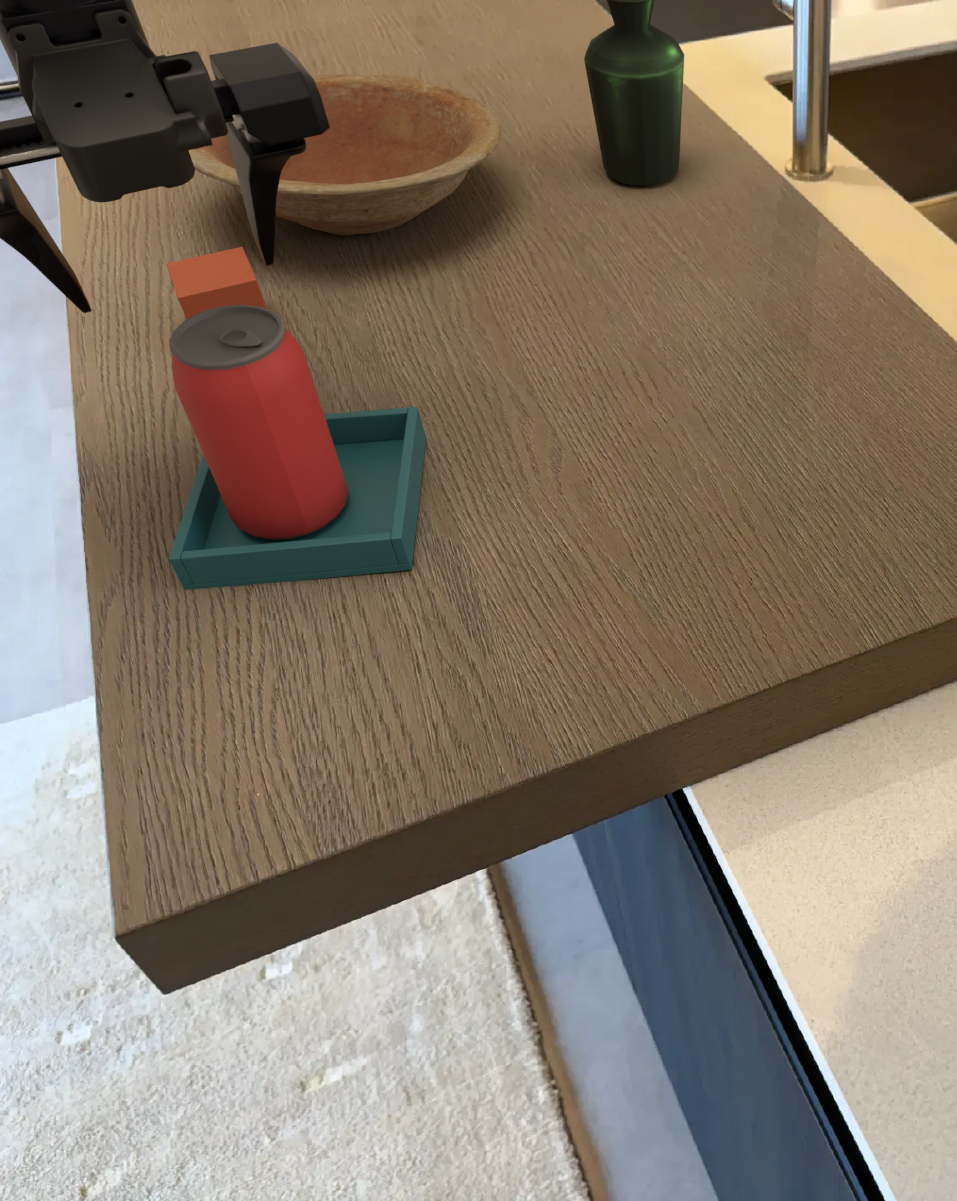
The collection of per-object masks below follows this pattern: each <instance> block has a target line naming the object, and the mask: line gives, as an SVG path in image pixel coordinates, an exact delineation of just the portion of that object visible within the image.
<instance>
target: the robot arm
mask: <svg viewBox="0 0 957 1201" xmlns="http://www.w3.org/2000/svg"><path fill="white" fill-rule="evenodd" d="M138 15H139V14H138V12H137V10H136V8H135V5H134V1H133V0H0V42H1V45H2V48H3V49H4V51H5V53H6V55H7V58H8V60H9V62H10V64H11V66H12V69H13V70H14V73H15V75H16V77H17V84H18V88H19V91H20V93H21V95H22V98H23V100H24V101H25V103H26V106H27V108H28V111H29V112H30V114H31V115H25V116H22V117H17V118H11V119H7V120H1V121H0V240H2V241H3V242H4V243H5V244H7V245H8V246H9V247H10V248H12V249H13V250H15V251H16V252H18V253H19V254H20V255H21V256H22V257H23V258H25V259H26V260H27V261H28V262H29V263H30V264H31V265H32V266H34V267H35V268H36V269H37V271H39V272H40V273H41V275H43V276H44V277H45V278H46V279H47V280H48V281H49V282H50V283H51V284H53V286H54V287H56V289H57V290H59V292H61V293H62V294H63V295H64V296H65V297H66V298H67V300H69V301H70V302H71V303H72V304H73V305H74V306H75V307H76V308H77V309H79V310H80V312H81V313H83V314H87V313H90V312H92V308H91V304H90V302H89V299H88V298H87V296H86V294H85V291H84V290H83V287H82V285H81V283H80V281H79V279H78V277H77V274H76V273H75V271H74V270H73V268H72V267H71V265H70V264H69V262H68V260H67V258H66V257H65V255H64V254H63V253H62V251H61V249H60V248H59V246H58V245H57V243H56V241H55V240H54V238H53V237H52V235H51V234H50V232H49V231H48V229H47V228H46V226H45V224H44V223H43V221H42V219H41V218H40V216H39V215H38V214H37V212H36V210H35V209H34V207H33V206H32V204H31V202H30V200H29V199H28V197H27V195H26V194H25V192H23V190H22V188H21V186H20V185H19V183H18V182H17V180H16V179H15V177H14V175H13V174H12V173H11V171H10V168H15V167H20V166H25V165H29V164H34V163H37V162H43V161H44V162H45V161H48V160H54V159H57V158H62V159H63V161H64V163H65V165H66V167H67V170H68V172H69V173H70V176H71V179H72V180H73V182H74V184H75V186H76V188H77V190H78V192H79V194H80V195H81V196H82V197H83V198H84V199H86V200H88V201H91V202H93V203H110V202H114V201H119V200H121V199H122V198H123V197H124V196H125V195H129V194H134V193H138V192H142V191H147V190H152V189H157V188H160V187H163V188H166V189H173V188H177V187H180V186H183V185H185V184H187V183H189V182H190V181H191V180H192V179H193V178H194V176H195V174H196V169H195V167H194V165H193V162H192V159H191V156H190V153H189V150H193V149H197V148H202V147H205V146H206V147H207V146H211V145H213V144H212V140H211V139H212V138H217V137H222V136H226V135H227V138H228V142H229V146H230V150H231V154H232V157H233V161H234V165H235V169H236V173H237V177H238V181H239V185H240V189H241V193H240V194H241V196H242V200H243V204H244V208H245V212H246V215H247V219H248V223H249V227H250V230H251V233H252V236H253V239H254V242H255V244H256V247H257V250H258V251H259V254H260V257H261V259H262V261H263V262H264V264H265V266H266V267H270V266H273V265H274V264H275V251H276V250H275V248H276V247H275V246H276V221H277V220H276V219H277V218H276V217H277V216H276V210H275V209H276V198H277V191H278V186H279V180H280V175H281V172H282V169H283V167H284V166H285V164H286V162H287V161H288V159H289V158H290V157H291V156H294V155H298V154H301V153H303V152H304V151H305V150H306V140H305V139H304V138H307V137H312V136H316V135H321V134H323V133H324V132H325V131H327V130H328V129H329V128H330V126H329V123H328V119H327V116H326V112H325V109H324V105H323V102H322V98H321V95H320V93H319V90H318V88H317V86H316V83H315V81H314V79H313V78H312V77H311V73H309V71H308V70H307V69H306V67H304V65H303V64H302V63H301V61H300V60H299V59H298V58H297V57H296V55H294V53H293V52H292V51H291V50H289V49H288V48H286V47H284V46H283V45H281V43H279V42H272V43H267V44H261V45H256V46H252V47H246V48H239V49H235V50H230V51H224V52H219V53H213V54H209V55H208V58H209V63H210V68H211V71H212V74H213V76H214V79H213V80H212V79H211V76H210V74H209V71H208V69H207V67H206V65H205V63H204V61H203V58H202V57H201V55H200V53H199V51H196V50H193V51H187V52H183V53H182V52H181V53H177V54H171V55H165V54H162V55H161V54H160V55H156V54H155V51H153V50H152V48H151V46H150V43H149V42H148V39H147V36H146V33H145V31H144V29H143V25H142V23H141V20H140V17H139V16H138Z"/></svg>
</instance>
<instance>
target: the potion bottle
mask: <svg viewBox="0 0 957 1201" xmlns="http://www.w3.org/2000/svg"><path fill="white" fill-rule="evenodd" d="M606 3H607V5H608V8H609V12H610V15H611V19H612V21H613V25H612V26H610V27H608V28H607V29H605V30H603V31H602V32H600V33H599V34H597V35H595V36H594V37H593V38H591V40H590V41H589V43H588V46H587V49H586V50H585V53H584V54H585V55H584V57H583V60H584V66H585V67H584V68H585V71H586V78H587V83H588V87H589V96H590V98H591V99H590V100H591V105H592V110H593V117H594V123H595V127H596V133H597V138H598V144H599V149H600V156H601V160H602V166H603V169H604V170H605V172H606V174H607V175H608V176H609V177H610V178H612V179H613V180H615V181H617V182H619V183H622V184H626V185H631V186H651V185H658V184H661V183H663V182H666V181H668V180H670V179H671V178H672V177H674V175H675V174H677V173H678V172H679V167H680V157H681V156H680V154H681V136H682V135H681V132H682V112H683V93H684V92H683V90H684V73H685V72H684V71H685V70H684V68H685V53H684V51H683V49H682V48H681V46H680V44H679V42H678V41H677V40H676V39H675V38H674V37H673V35H670V33H667V32H665V31H663V30H662V29H660V28H658V27H656V26H654V25H652V24H651V21H652V16H653V12H654V11H653V10H654V5H655V4H654V3H655V0H606Z"/></svg>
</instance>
